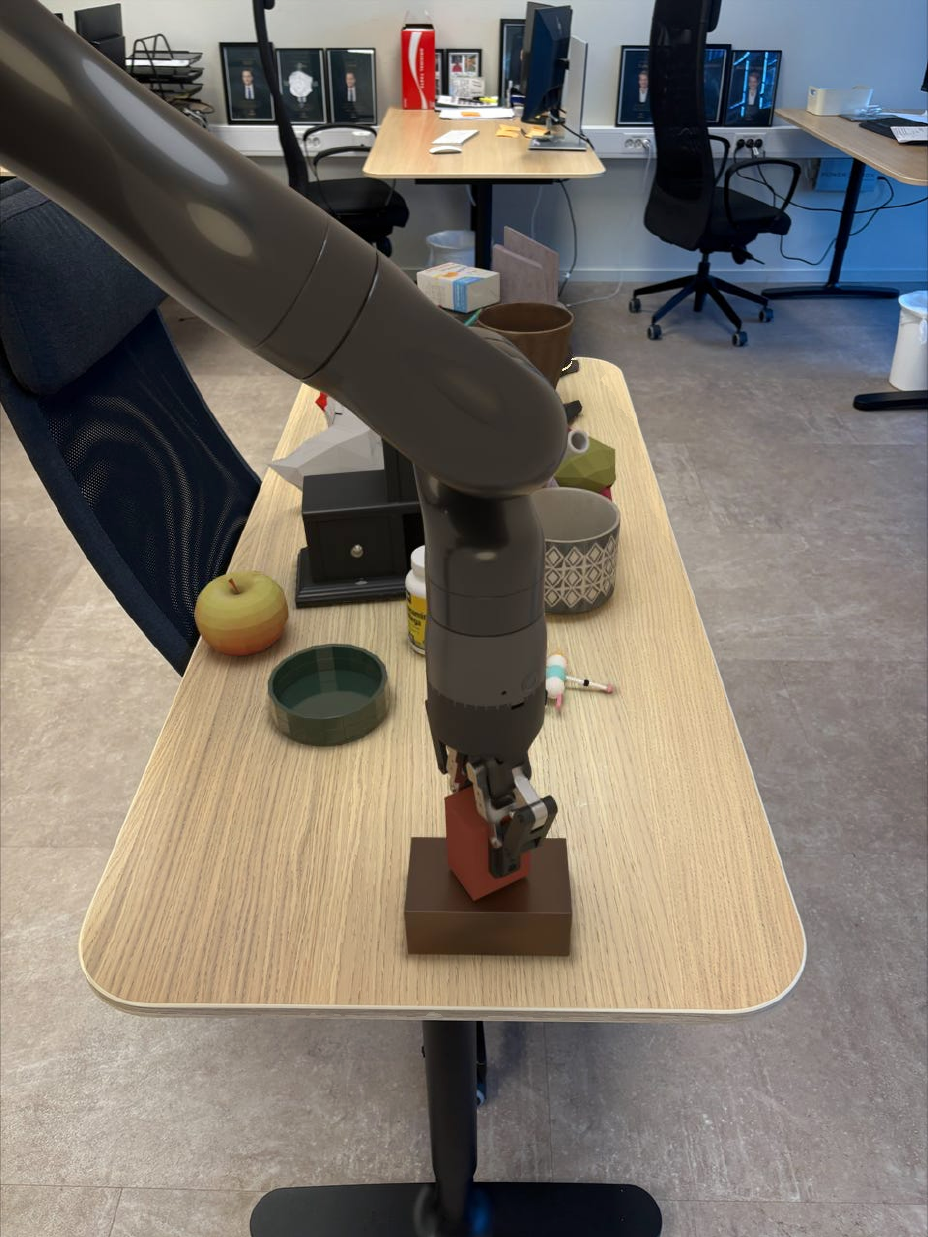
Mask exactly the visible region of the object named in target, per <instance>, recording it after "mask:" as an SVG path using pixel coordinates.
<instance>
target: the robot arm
mask: <svg viewBox="0 0 928 1237" xmlns="http://www.w3.org/2000/svg"><path fill="white" fill-rule="evenodd" d="M0 167H1V168H2V169H4V170H6V171H7V172H9V173H11V174H12V175H14V176H16V177H17V178H18V179H20V180H21V181H23V182H24V183H26V184H28V185H29V186H30V187H32V188H34V189H35V190H36V191H38V192H39V193H41V194H42V195H44V196H45V197H46V198H48V199H49V200H51V201H52V202H54V203H55V204H57V205H58V206H59V207H61V208H62V209H63V210H65V211H66V212H68V214H70V215H72V216H73V217H74V218H75V219H77V220H78V221H79V222H81V223H82V224H83V225H84V226H86V228H88V229H90V230H91V231H92V232H93V233H94V234H96V235H97V236H98V237H100V238H101V239H102V240H103V241H105V243H106V244H108V245H109V246H110V247H111V248H113V249H114V250H115V251H116V252H117V253H118V254H119V255H121V256H122V257H123V258H124V259H125V260H127V261H128V262H129V263H130V264H131V265H132V266H134V268H136V269H137V270H139V271H140V272H141V273H142V274H143V275H144V276H145V277H146V278H148V279H149V280H150V281H151V282H152V283H153V284H155V285H156V286H157V287H159V288H160V289H161V290H162V291H163V292H165V293H166V294H167V295H168V296H169V297H171V298H172V299H174V300H175V301H176V302H177V303H179V304H180V305H181V306H182V307H184V308H185V309H186V310H187V311H189V312H190V313H191V314H193V315H194V316H196V317H197V318H199V319H200V320H202V321H203V322H204V323H206V324H208V325H209V326H210V327H212V328H213V329H215V330H216V331H217V332H219V333H220V334H222V335H224V336H225V337H227V338H228V339H230V340H232V341H233V342H235V343H236V344H238V345H239V346H241V347H243V348H244V349H246V350H248V351H250V352H251V353H253V354H255V355H256V356H258V357H260V358H261V359H263V360H265V361H266V362H268V363H270V364H271V365H273V366H274V367H276V368H278V369H280V370H281V371H283V372H284V373H286V374H288V375H289V376H291V377H292V378H294V379H296V380H298V381H299V382H301V383H302V384H305V385H306V386H308V387H310V388H312V389H313V390H316V391H318V392H319V393H320V392H321V393H323V394H325V395H327V396H329V397H331V398H332V399H334V400H335V401H337V402H338V403H340V404H341V405H342V406H344V407H345V408H347V409H348V410H349V411H350V412H352V413H353V414H354V415H355V416H357V417H358V418H359V419H360V420H361V421H362V422H363V423H365V424H366V425H367V426H368V427H369V428H370V429H372V430H373V431H374V432H375V433H377V434H378V435H379V436H380V437H382V438H383V439H384V440H385V441H387V442H388V443H389V444H391V445H392V446H393V447H394V448H396V449H397V450H398V451H399V452H401V453H402V454H403V455H404V456H406V457H407V458H408V459H410V460H411V461H412V462H413V468H414V474H415V479H416V485H417V490H418V496H419V501H420V505H421V510H422V516H423V524H424V535H425V553H424V566H425V587H426V604H427V613H426V622H425V632H424V644H425V655H424V658H425V678H426V694H427V695H426V697H427V699H425V701H424V707H425V711H426V716H427V721H428V725H429V730H430V736H431V740H432V745H433V749H434V754H435V760H436V764H437V769H438V771H439V772H440V773H441V775H443V776H444V775H447V774H449V776H450V777H449V782H448V786H449V790H450V792H451V793H452V794H454V793H456V792H458V791H461V790H463V789H465V788H468V787H470V786H473V788H474V794H475V799H476V805H477V811H478V813H479V814H480V815H481V816H482V817H483V818H484V819H485V820H486V823H487V829H488V835H489V839H488V866H489V872H490V874H491V875H492V876H493V878H494V879H499V878H503V877H505V876H507V875H509V874H512V873H514V872H516V871H518V870H519V869H520V867H521V862H520V861H521V858H520V857H521V855H522V854H524V853H526V852H528V851H530V850H532V849H536V848H538V847H540V846H542V845H543V843H544V840H545V838H547V836H548V834H549V832H550V829H551V827H552V825H553V823H554V821H555V819H556V816H557V814H558V813H559V806H558V803H557V802H556V800H555V798H554V797H553V796H552V795H550V794H547V795H546V796H543V797H540V796H539V795H538V793H537V791H536V790H535V788H534V786H533V785H532V783H531V782H530V781H531V779H532V776H533V770H532V769H533V768H532V764H531V762H530V756H529V750H530V748H531V746H532V744H533V743H534V742H535V740H536V739H537V737H538V735H539V734H540V732H541V731H542V729H543V726H544V722H545V718H546V717H545V716H546V705H545V693H546V670H547V668H546V662H547V658H548V626H547V620H546V613H545V604H544V599H545V570H546V545H545V538H544V532H543V528H542V525H541V522H540V520H539V518H538V515H537V513H536V511H535V509H534V506H533V503H532V500H531V497H530V494H531V493H533V492H535V491H536V490H538V489H540V488H541V487H542V486H544V485H545V484H546V483H547V482H548V481H549V480H550V479H551V478H552V477H553V476H554V474H555V473H556V471H557V470H558V468H559V467H560V465H561V463H562V460H563V458H564V455H565V452H566V448H567V443H568V427H569V424H568V422H567V417H566V413H565V409H564V406H563V404H564V403H563V401H562V399H561V398H560V395H559V393H558V392H557V391H556V390H557V389H556V390H555V389H554V387H553V386H552V385H551V383H550V382H549V381H548V380H547V379H546V378H545V377H544V376H543V374H542V373H541V372H540V371H539V370H537V368H536V367H535V366H534V365H533V364H532V363H531V362H530V361H529V360H528V359H527V358H526V357H525V356H524V354H523V353H522V352H521V351H520V350H519V349H518V348H517V347H516V346H515V345H514V344H512V343H511V342H510V341H509V340H508V339H506V338H505V337H503V336H501V335H500V334H498V333H495V332H493V331H491V330H488V329H485V328H480V327H467V326H466V325H464V324H463V323H461V322H460V321H458V320H457V319H455V318H454V317H452V316H451V315H450V314H448V313H447V312H445V311H444V310H442V309H441V308H440V307H438V306H437V305H436V304H434V303H433V302H432V301H431V300H430V299H429V298H428V297H427V296H426V295H425V294H424V293H423V292H422V291H421V290H420V289H419V288H418V285H417V284H416V282H414V280H413V279H412V278H411V277H410V276H408V274H406V272H405V271H404V270H402V269H401V268H400V267H399V266H398V265H397V264H396V263H395V262H394V261H392V260H391V259H390V258H389V257H388V256H386V255H385V254H384V253H382V252H381V251H380V250H379V249H377V248H375V247H374V246H372V245H371V244H370V243H369V242H367V241H366V240H365V239H364V238H362V237H361V236H359V235H358V234H357V233H356V232H353V231H352V230H351V229H350V228H349V227H347V226H345V225H344V224H343V223H341V222H340V221H338V220H337V219H336V218H335V217H333V216H332V215H331V214H329V213H328V212H326V211H325V210H324V209H322V208H321V207H320V206H318V205H316V204H315V203H313V202H312V201H311V200H310V199H308V198H306V197H305V196H303V195H302V194H301V193H299V192H298V191H296V190H295V189H293V188H292V187H290V186H289V185H287V184H286V183H285V182H284V181H282V180H281V179H279V178H277V177H276V176H275V175H274V174H272V173H270V172H269V171H268V170H266V169H265V168H263V167H262V166H260V165H259V164H257V163H256V162H255V161H253V160H252V159H250V158H248V157H247V156H245V155H244V154H243V153H241V152H240V151H238V150H237V149H235V148H234V147H233V146H231V145H229V144H228V143H226V142H225V141H224V140H222V139H221V138H219V137H217V135H215V134H213V133H211V132H210V131H209V130H207V129H206V128H204V127H203V126H201V125H200V124H199V123H197V122H195V121H194V120H193V119H191V118H190V117H188V116H187V115H186V114H184V113H183V112H181V111H180V110H178V109H177V108H175V107H174V106H173V105H171V104H170V103H168V102H166V100H164V99H162V98H161V97H160V96H159V95H157V94H155V92H153V91H151V90H150V89H149V88H147V87H146V86H145V85H144V84H142V83H140V82H139V81H137V80H136V79H135V78H133V77H132V76H131V75H129V73H127V72H126V71H125V70H124V69H122V68H121V67H120V66H118V65H117V64H116V63H114V62H113V61H112V60H111V59H110V58H108V57H107V56H105V55H104V53H101V51H99V50H98V49H97V48H95V46H93V45H92V44H90V43H89V42H88V40H86V39H84V38H83V37H82V36H81V35H79V33H77V32H76V31H75V30H73V29H72V28H71V27H70V26H69V25H67V24H66V23H65V22H64V21H62V19H60V18H59V17H58V16H57V15H56V14H55V13H54V12H52V11H51V10H50V9H49V8H47V6H45V5H44V3H42V2H41V1H40V0H0ZM490 799H492V800H493V801H491V802H490ZM508 815H510V817H511V818H512V820H511V822H509V823H507V824H505V825H502V826H501V825H500V821H501V819H502V818H503V817H506V816H508Z"/></svg>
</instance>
